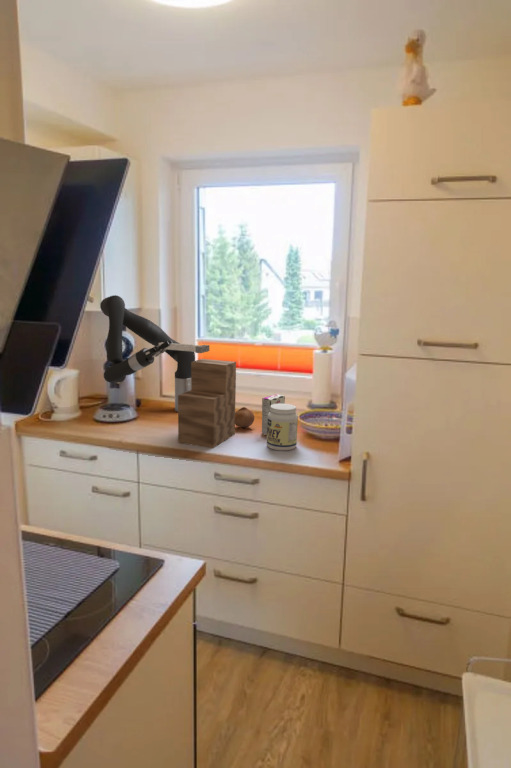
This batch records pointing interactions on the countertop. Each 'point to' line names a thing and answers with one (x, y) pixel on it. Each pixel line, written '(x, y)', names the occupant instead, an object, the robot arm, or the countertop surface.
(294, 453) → the countertop surface
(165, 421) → the countertop surface
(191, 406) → the brown wooden stepped block
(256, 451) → the countertop surface
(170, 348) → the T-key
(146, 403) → the countertop surface
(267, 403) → the candy bar box
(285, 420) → the supplement tub
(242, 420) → the onion
